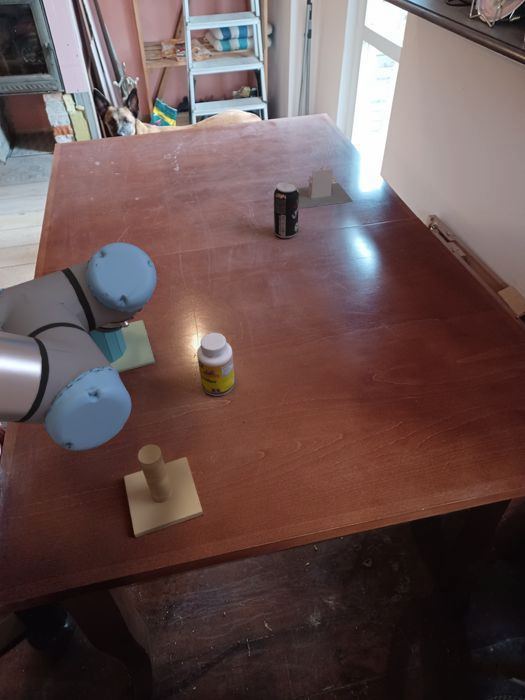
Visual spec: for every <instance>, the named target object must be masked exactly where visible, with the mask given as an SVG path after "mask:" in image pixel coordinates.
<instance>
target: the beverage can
mask: <svg viewBox="0 0 525 700" xmlns="http://www.w3.org/2000/svg"><path fill="white" fill-rule="evenodd" d="M297 188H298V186H297V184H295V183H294V182H290V181H284V182H280V183H278V184H277V185H276V189H275V190H274V192H273V233H274V234H275V235H276V236H277V237H279V238H281V239H290V238H292V237H295V236H296V235H297V234H298V231H299V211H300V209H299V191H298V190H297Z"/></svg>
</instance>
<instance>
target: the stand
mask: <svg viewBox="0 0 525 700" xmlns="http://www.w3.org/2000/svg"><path fill="white" fill-rule="evenodd" d="M137 459H138V462H139V465H140V468H141V470H139V471H136V472H134V473H130V474H127V475H124V476H123V479H124V486H125V490H126V496H127V501H128V506H129V513H130V517H131V523H132V528H133V529H132V530H133V534H134V537H135V538H140V537H143V536H145V535H148V534H151V533H154V532H158V531H160V530H163V529H165V528H168V527H172V526H174V525H177V524H180V523H183V522H186V521H188V520H192V519H194V518H195V519H196V518H198V517H200V516H203V515H204V512H203V507H202V505H201V500H200V498H199V495H198V492H197V487H196V484H195V481H194V477H193V474H192V471H191V467H190V464H189V460H188V457H187V456H185V457H181V458H178V459H175V460H171V461H168V462H165V461H164V458H163V454H162V450H161V448H160V447H159V446H158V445H157V444H153V443H152V444H146V445H144V446H142V447H141V448H140V449H139V450H138V453H137Z"/></svg>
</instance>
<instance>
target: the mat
mask: <svg viewBox="0 0 525 700" xmlns="http://www.w3.org/2000/svg"><path fill="white" fill-rule="evenodd" d="M128 323H129V326H128V327H125V328H121V330H122V333H123V336H124V340H125V343H126V347H127V348H126V350H125V352H124V354H123V356H122V357H120V358H119V359H118V360H116V361H115V362H113V363H110V364H111V366H112V367H113V368H115V370H116V371H117V372H118V374H119V373H123V372H127V371H130V370H134V369H137V368H142V367H146V366H150V365H154V364H156V360H155V357H154V353H153V349H152V347H151V343H150V339H149V337H148V333H147V329H146V326H145V323H144V319H140V320H135V321H131V322H128Z"/></svg>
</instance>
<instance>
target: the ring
mask: <svg viewBox="0 0 525 700" xmlns="http://www.w3.org/2000/svg"><path fill="white" fill-rule="evenodd" d="M88 334H89V335H90V337H91V338H92V340H93V341H94V342H95V344H96V345H97V347H98V348H99V349H100V351H101V352H102V353H103V355H104V356H105V357H106V359H107V360H108V362H109V363H113V362H115V361H116V360H118V359H119V358H120V357H122V356H123V354H124V352H125V350H126V348H127V347H126V343H125V340H124V336H123V333H122V330H121V329H120V330H118V331H115V332H110V333H102V332H98V331H95V330H93V331H91V332H88Z"/></svg>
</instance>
